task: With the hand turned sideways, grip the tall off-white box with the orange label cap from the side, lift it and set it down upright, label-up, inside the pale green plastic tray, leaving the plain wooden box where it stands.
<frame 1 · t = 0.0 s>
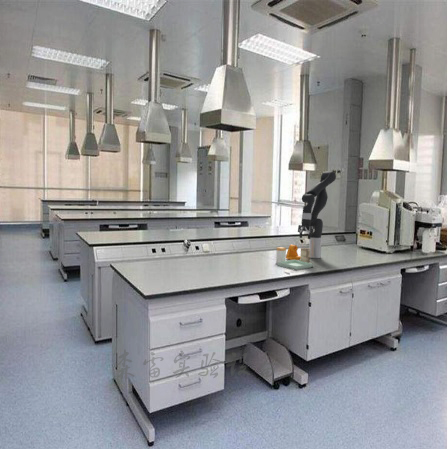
hand: (304, 238, 302), 17 cm above the worktop, tool pointing down, fingers open, 8 cm apart
bracket: (293, 259, 301), on the worktop
plain box: (304, 263, 284), on the worktop
tray: (295, 266, 273), on the worktop
labelled box: (280, 263, 285), on the worktop
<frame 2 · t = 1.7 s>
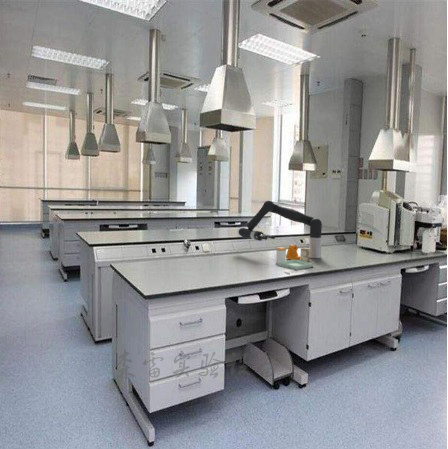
hand: (270, 238, 293), 18 cm above the worktop, tool horizontal, fingers open, 8 cm apart
nothing on the worktop moved.
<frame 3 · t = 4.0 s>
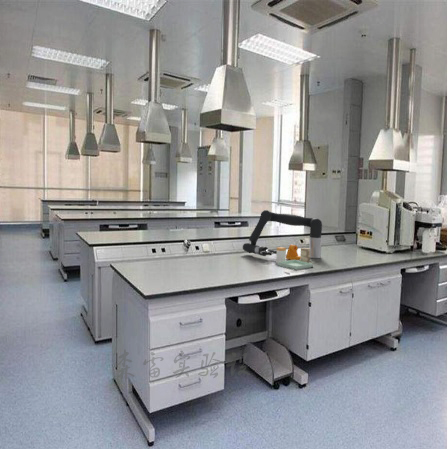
hand: (275, 253, 290), 6 cm above the worktop, tool horizontal, fingers open, 8 cm apart
nothing on the worktop moved.
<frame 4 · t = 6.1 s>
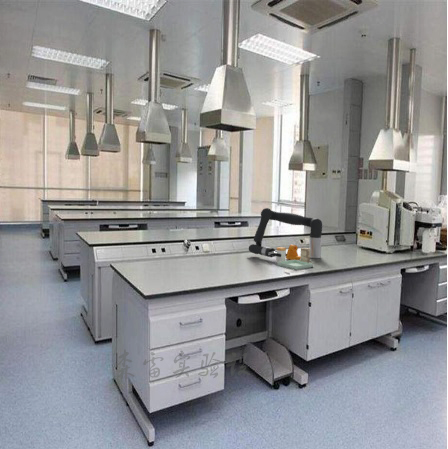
hand: (283, 255, 283), 7 cm above the worktop, tool horizontal, fingers closed on labelled box, 5 cm apart
labelled box: (280, 263, 285), on the worktop, touching gripper
everything else where it was.
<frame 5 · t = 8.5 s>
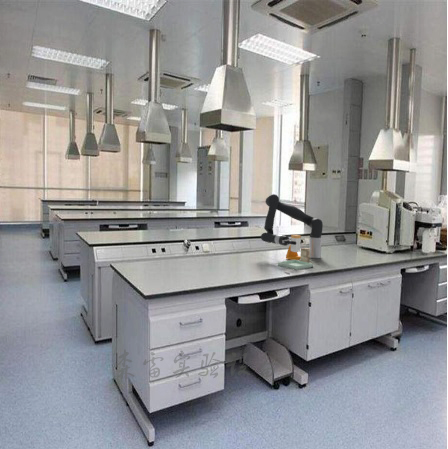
hand: (298, 243, 270), 18 cm above the worktop, tool horizontal, fingers closed on labelled box, 5 cm apart
labelled box: (295, 251, 273), point 11 cm above the worktop, touching gripper
everything else where it was.
when the fingers open (9 cm above the worktop, at t = 10.7 s): labelled box drops 1 cm, resting on tray.
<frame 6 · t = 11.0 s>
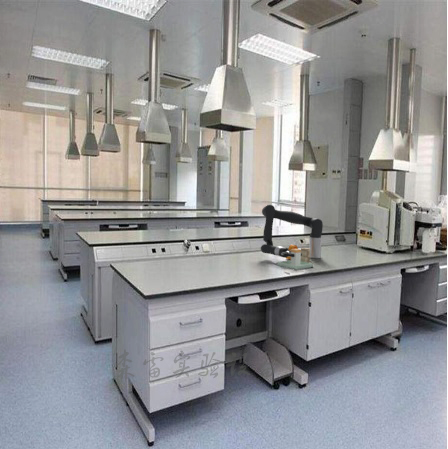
hand: (297, 255, 271), 9 cm above the worktop, tool horizontal, fingers open, 7 cm apart
labelled box: (295, 265, 273), point 1 cm above the worktop, touching tray
everything else where it was.
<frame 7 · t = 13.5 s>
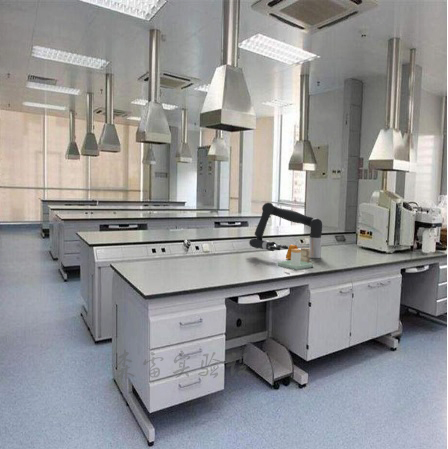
hand: (283, 248, 283), 12 cm above the worktop, tool horizontal, fingers open, 8 cm apart
nothing on the worktop moved.
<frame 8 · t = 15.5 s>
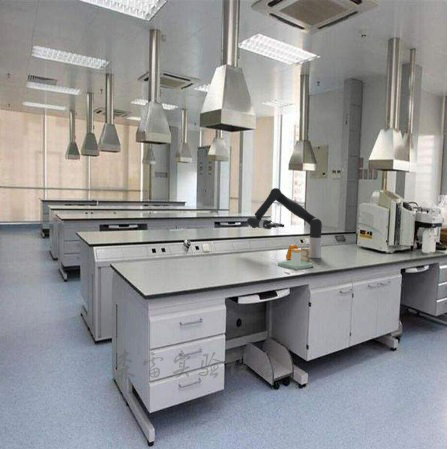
hand: (280, 226, 290), 28 cm above the worktop, tool horizontal, fingers open, 8 cm apart
nothing on the worktop moved.
at the end: labelled box inside the target area on the tray (0.1 cm from its centre), point 0.8 cm above the tray's base; labelled box tilted 0°; plain box moved 0.0 cm from its start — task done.
